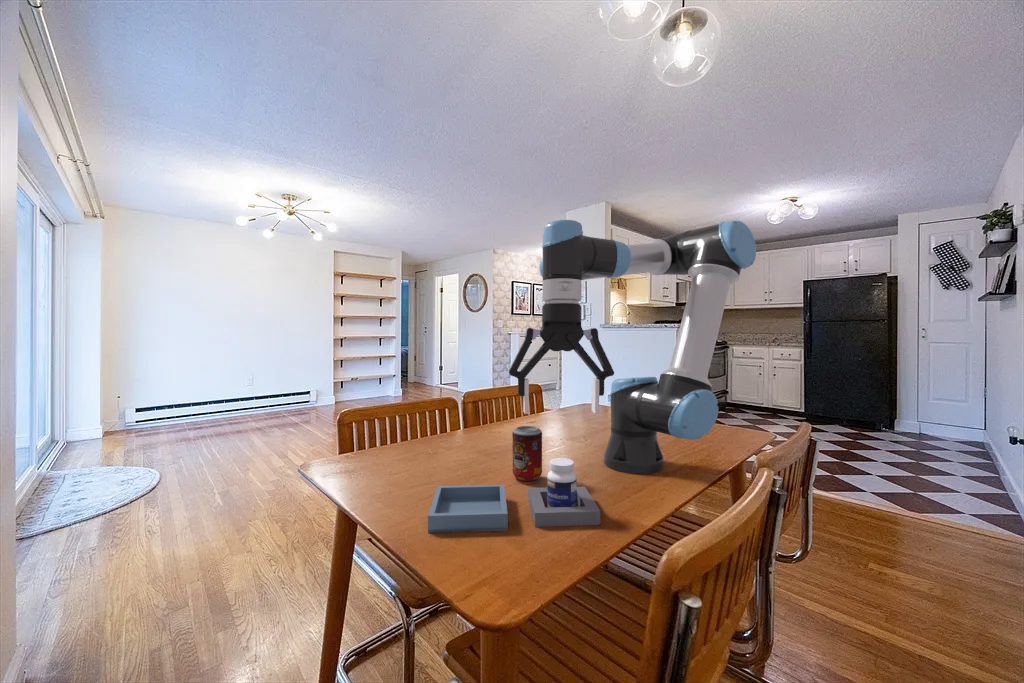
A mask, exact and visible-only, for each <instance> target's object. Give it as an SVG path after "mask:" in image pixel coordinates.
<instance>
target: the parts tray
mask: <svg viewBox="0 0 1024 683" xmlns="http://www.w3.org/2000/svg"><path fill="white" fill-rule="evenodd" d="M507 506H508V505H507V497H506V489H505V484H477V485H476V484H473V485H472V484H468V485H437V486H436V489H435V492H434V496H433V499H432V502H431V505H430V507H429V511H428V515H427V533H428V534H432V533H433V534H435V533H436V534H437V533H438V534H439V533H440V534H441V533H465V532H467V533H468V532H494V531H495V532H496V531H499V532H500V531H502V532H503V531H508V530H509V528H508V527H509V526H508V524H509V523H508V518H509V517H508V507H507Z"/></svg>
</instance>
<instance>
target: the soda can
mask: <svg viewBox="0 0 1024 683" xmlns="http://www.w3.org/2000/svg"><path fill="white" fill-rule="evenodd" d="M511 433H512V434H511V436H512V450H511V451H512V460H511V461H512V474H513V476H514V478H515V481H516V482H518V483H519V484H520V483H521V484H527V485H528V484H536V483H538V482H539V480H540V477H541V476H542V473H543V432H542V430H541V429H540V428H539V427H537V426H535V425H534V426H533V425H521V426H517V427H516V428H514V429H513V430H512V432H511Z"/></svg>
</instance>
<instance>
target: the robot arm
mask: <svg viewBox="0 0 1024 683" xmlns="http://www.w3.org/2000/svg"><path fill="white" fill-rule="evenodd" d="M541 248H542V258H541V259H540V261H539V262H540V263H539V273H540V276H541V278H542V290H541V291H542V293H541V294H542V297H541V300H542V301H543V302H544V304H543V305H542V307H541V308H542V309H541V310H542V314H541V315H542V316H541V328H540V329H539V328H538V329H537V328H532V327H527V328H526V329H525V333H524V334H525V335H524V339H523V342H522V344H521V346H520V348H519V350H518V351H517V354H516V356H515V358H514V359H513V361H512V364H511V365H510V368H509V370H508V373H509V375H510V376H511V377H514V378H517V393H518V395H519V396H520V397H523V398H522V399H523V400H522V402H523V407H522V408H523V409H522V410H523V413H524V415H529V414H530V413H529V411H530V409H529V406H530V405H529V402H530V401H529V398H530V397H529V396H530V389H529V388H530V386H529V385H530V380H529V378H526V377H527V376H528V375H529V373H531V371H532V370H533V369H534V368H535V366H536V365H537V364H538V363H539V362H540V361H541V359H542V358H543V357H544V356H545V355H546V354H547V353H548V352H549V350H550V351H553V352H561V351H564V352H571V351H574V352H575V354H577V356H578V357H579V358H580V359H581V361H583V363H584V364H585V365H586V366H587V367H588V369H589V370H590V371H591V373H592V374H593V375H594V376H595V377H594V378H593V377H592V378H591V412H592V413H594V414H600V396H601V397H602V396H603V397H604V396H605V381H606V379H607V378H608V377H612V376H614V375H615V371H614V369H613V367H612V365H611V362H610V360H609V358H608V356H607V353H606V352H605V350H604V347H603V346H602V343H601V341H600V340H599V339H600V338H599V331H598V329H597V328H596V327H594V328H593V327H592V328H588V329H583V327H582V305H581V304H580V303H579V302H581V301H582V281H587V280H595V279H602V278H603V279H604V278H607V279H609V278H620V277H622V276H630V275H636V274H637V275H638V274H646V273H647V274H650V275H653V276H660V275H662V276H665V275H667V276H668V275H669V276H670V275H672V276H674V275H676V276H677V275H678V276H682V275H683V276H686V275H687V276H689V277H690V278H691V279H692V281H691V284H690V288H689V291H688V295H687V299H686V302H685V303H686V304H685V305H684V310H683V313H682V314H683V315H682V318H681V322H680V326H679V330H678V333H677V337H676V340H675V345H674V348H673V351H672V356H671V360H670V363H669V367H668V369H666V370H665V371H663V372H661V373H660V375H659V380H658V378H657V377H656V376H638V377H625V378H615V379H614V380H612V382H611V384H610V385H611V387H610V390H611V391H610V394H609V395H610V434H609V438H608V441H607V444H606V448H605V450H604V453H603V464H604V465H606V466H607V467H608V468H610V469H613V470H615V471H618V472H622V473H629V474H641V475H642V474H654V473H657V472H660V471H663V469H664V466H665V464H664V462H665V460H664V454H663V453H662V452H663V451H662V450H661V446H660V444H659V440H658V434H657V433H661V434H665V435H667V436H668V435H669V436H672V437H675V438H677V439H683V440H684V439H685V440H690V441H694V440H699V439H702V438H703V437H704V436H705V435H707V434H709V433H710V432H711V430H712V429H713V427H715V423H716V422H717V420H718V415H719V405H718V404H719V402H718V398H717V396H716V395H715V394H714V393H713V392H712V389H713V385H712V384H711V382H710V380H709V379H708V375H709V371H710V367H711V364H712V360H713V355H714V351H715V347H716V344H717V343H716V342H717V340H718V335H719V331H720V328H721V327H720V326H721V324H722V319H723V316H724V311H725V306H726V304H727V303H726V302H727V298H728V295H729V290H730V286H731V285H733V284H735V283H737V282H738V281H739V280H740V279H739V278H740V275H741V271H742V269H743V270H745V269H747V268H749V267H751V266H752V265H753V264H754V263H755V260H756V256H757V245H756V240H755V237H754V235H753V233H752V231H751V228H749V226H748V225H747V224H746V223H744V222H743V221H740V220H731V221H722V222H719V223H716V224H713V225H709V226H705V227H699V228H694V229H692V230H691V229H690V230H687V231H683V232H680V233H676V234H673V235H670V236H667V237H663V238H662V237H661V238H654V239H651V240H650V241H648V242H647V243H637V244H626V243H624V242H623V241H618V240H615V239H612V238H611V239H608V238H607V239H606V238H599V237H593V236H587V235H584V231H583V225H582V223H581V222H579V221H577V220H573V219H557V220H552V221H551V222H548V223H546V224H545V226H544V229H543V234H542V245H541ZM538 336H540V338H541V339H542V341H543V344H542V345H541V346H540V347H539V348H538V349H537V351H536V352H535V353H534V355H532V357H531V358H530V359H529V360H528V361H527V362H526V364H525V365H524V366H522V368H521V370H519V368H520V366H521V364H522V363H523V360H524V358H525V356H526V354H527V352H528V350H529V348H530V346H531V344H532V342H533V341H534V340H535V339H537V337H538ZM584 336H585V338H586V340H588V341H589V342H590V345H591V347H592V350H593V352H594V353H595V356H596V358H597V359H598V362H599V364H600V366H601V367H602V370H601V369H600V368H601V367H599V366H598V364H596V362H595V361H594V360H593V358H592V357H591V355H589V353H588V352H586V350H585V348H584V347H583V345H581V344H580V341H581V339H583V337H584Z"/></svg>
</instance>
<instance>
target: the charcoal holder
mask: <svg viewBox="0 0 1024 683" xmlns="http://www.w3.org/2000/svg"><path fill="white" fill-rule="evenodd" d="M527 491H528V492H527V494H528V496H527V499H528V505H529V508H530V513H531V516H532V521H533V525H534V527H535V528H538V527H539V528H541V527H569V526H599V525H600V526H601V510H600V508H599V507H598V505H597V504H596V502H595V500H594V499H593V497H592V496H591V494H590V492H589V491H588V489H587V487H586V486H577V494H576V505H577V506H576V507H550V508H547V507H546V506H545V505H547V487H529V488H527Z"/></svg>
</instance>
